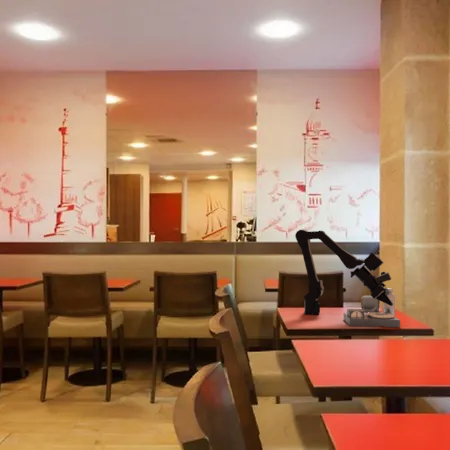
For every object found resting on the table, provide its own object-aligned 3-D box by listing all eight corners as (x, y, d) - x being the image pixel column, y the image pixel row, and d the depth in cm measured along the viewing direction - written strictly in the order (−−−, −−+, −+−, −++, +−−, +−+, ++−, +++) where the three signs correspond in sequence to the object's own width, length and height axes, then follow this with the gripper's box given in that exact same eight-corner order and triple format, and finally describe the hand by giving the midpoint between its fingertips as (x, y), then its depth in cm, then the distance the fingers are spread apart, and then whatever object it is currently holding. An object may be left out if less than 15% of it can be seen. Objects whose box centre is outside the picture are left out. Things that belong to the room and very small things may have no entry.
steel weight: (384, 319, 220) (384, 289, 220) (381, 317, 225) (382, 287, 225) (396, 320, 220) (396, 289, 220) (393, 318, 225) (393, 288, 225)
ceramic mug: (362, 309, 251) (362, 293, 251) (379, 310, 248) (379, 294, 248) (359, 312, 241) (359, 296, 241) (377, 313, 238) (377, 297, 238)
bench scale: (349, 326, 204) (349, 312, 204) (343, 319, 219) (343, 306, 219) (400, 327, 203) (400, 313, 203) (390, 321, 218) (390, 308, 218)
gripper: (379, 267, 215) (406, 294, 212) (380, 264, 233) (406, 289, 229) (360, 284, 218) (386, 312, 214) (363, 280, 235) (387, 306, 232)
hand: (392, 304), depth 222 cm, fingers closed on steel weight, 5 cm apart
